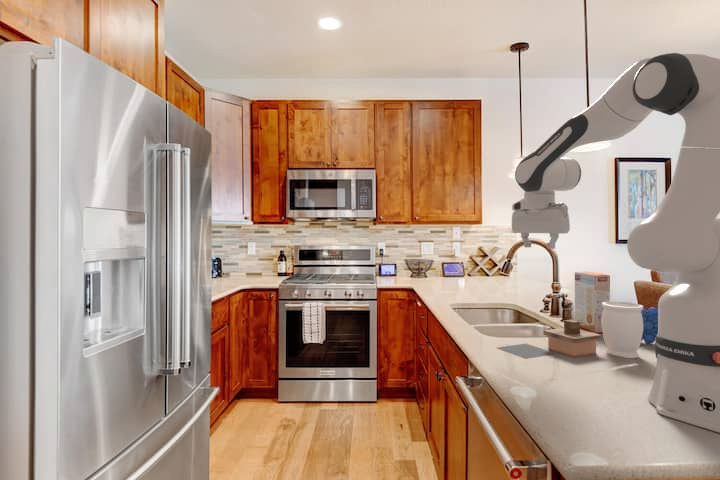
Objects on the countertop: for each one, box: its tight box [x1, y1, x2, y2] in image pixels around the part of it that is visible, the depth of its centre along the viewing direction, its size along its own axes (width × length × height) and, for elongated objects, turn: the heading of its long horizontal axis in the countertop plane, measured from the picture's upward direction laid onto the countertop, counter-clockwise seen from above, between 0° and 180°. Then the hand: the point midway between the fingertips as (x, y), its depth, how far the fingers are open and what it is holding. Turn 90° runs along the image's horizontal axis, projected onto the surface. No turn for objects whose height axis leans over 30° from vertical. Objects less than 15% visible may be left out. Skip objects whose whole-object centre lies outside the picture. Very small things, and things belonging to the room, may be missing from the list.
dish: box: [547, 335, 597, 358], centre depth 123 cm, size 9×9×5 cm
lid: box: [543, 319, 603, 343], centre depth 122 cm, size 11×11×5 cm
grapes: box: [641, 306, 658, 345], centre depth 133 cm, size 12×7×12 cm, turn 49°
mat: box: [497, 343, 558, 360], centre depth 124 cm, size 12×12×1 cm
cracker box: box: [573, 271, 611, 334], centre depth 153 cm, size 14×6×21 cm, turn 179°
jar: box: [601, 301, 644, 359], centre depth 121 cm, size 11×10×15 cm
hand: (538, 247), depth 129 cm, fingers open, 8 cm apart
